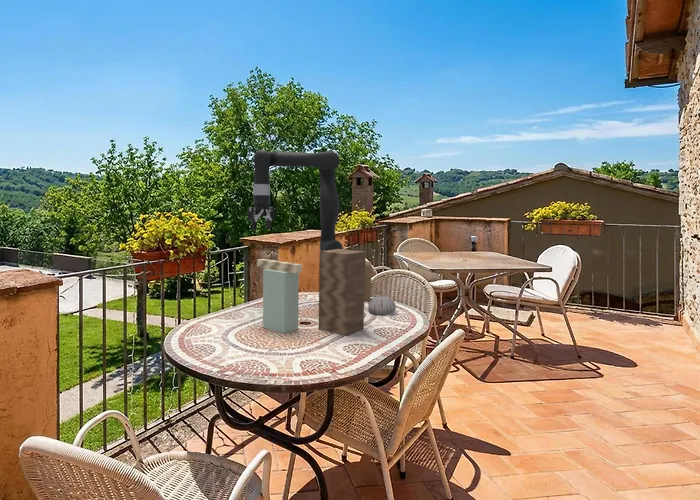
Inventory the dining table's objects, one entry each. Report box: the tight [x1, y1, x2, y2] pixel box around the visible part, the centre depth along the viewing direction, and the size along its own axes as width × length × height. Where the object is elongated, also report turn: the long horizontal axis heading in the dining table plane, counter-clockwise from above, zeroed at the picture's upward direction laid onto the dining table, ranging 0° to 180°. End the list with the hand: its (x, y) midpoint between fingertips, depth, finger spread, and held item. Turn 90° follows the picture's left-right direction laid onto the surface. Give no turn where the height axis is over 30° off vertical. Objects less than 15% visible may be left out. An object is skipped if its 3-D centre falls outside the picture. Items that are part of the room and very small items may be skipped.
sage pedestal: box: [262, 268, 300, 334], centre depth 179 cm, size 12×8×24 cm, turn 54°
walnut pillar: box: [317, 248, 367, 337], centre depth 179 cm, size 14×12×32 cm
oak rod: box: [256, 258, 303, 274], centre depth 178 cm, size 22×3×3 cm, turn 54°
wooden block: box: [364, 261, 373, 302], centre depth 235 cm, size 10×10×20 cm
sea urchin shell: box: [367, 295, 397, 316], centre depth 209 cm, size 13×14×8 cm
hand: (261, 229), depth 206 cm, fingers open, 8 cm apart
